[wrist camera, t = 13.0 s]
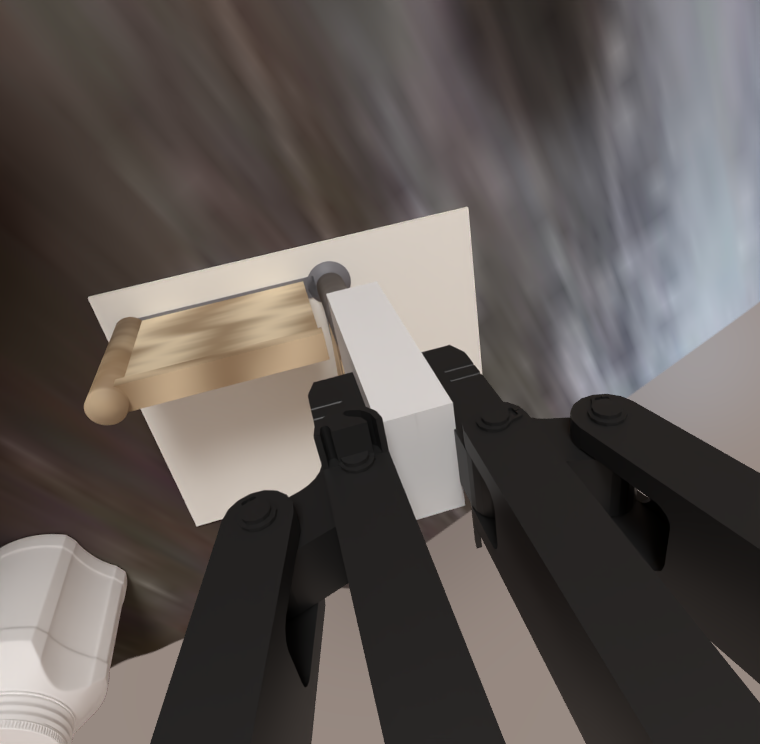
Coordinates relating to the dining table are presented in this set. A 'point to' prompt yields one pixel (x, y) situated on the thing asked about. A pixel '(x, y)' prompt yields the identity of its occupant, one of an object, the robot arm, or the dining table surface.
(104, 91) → the dining table surface
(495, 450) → the robot arm
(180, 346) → the fixed fence section
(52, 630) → the jar
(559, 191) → the dining table surface
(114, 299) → the card
